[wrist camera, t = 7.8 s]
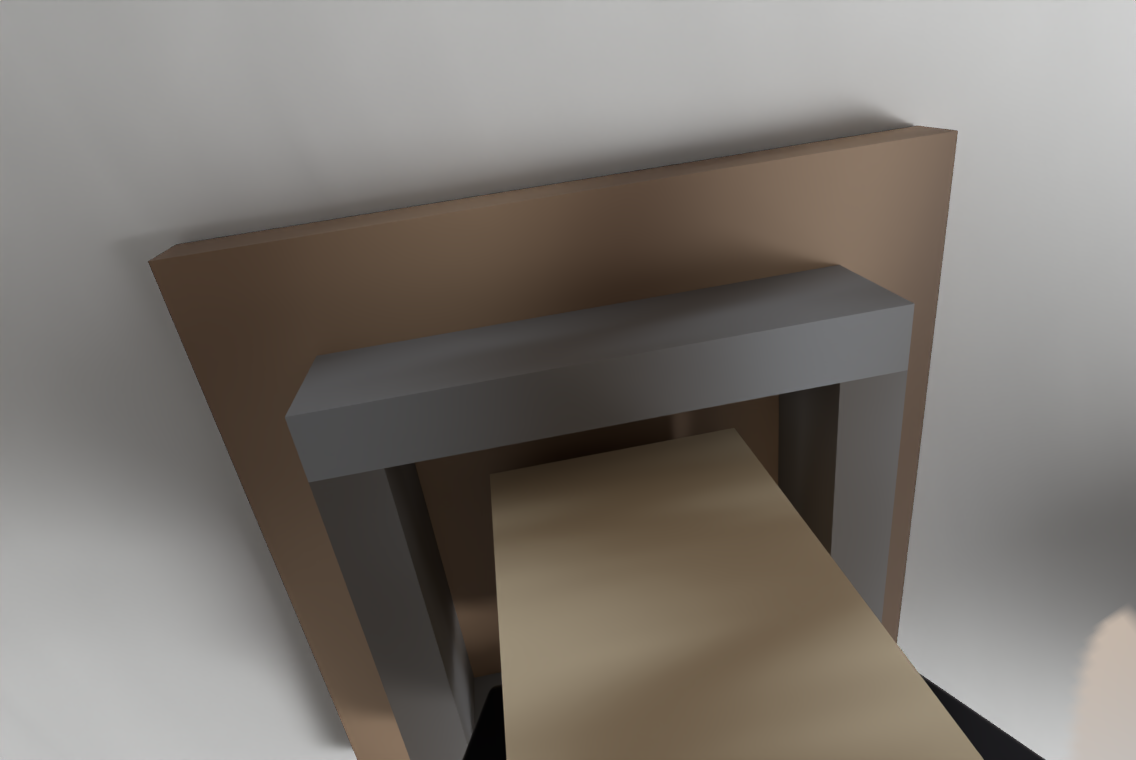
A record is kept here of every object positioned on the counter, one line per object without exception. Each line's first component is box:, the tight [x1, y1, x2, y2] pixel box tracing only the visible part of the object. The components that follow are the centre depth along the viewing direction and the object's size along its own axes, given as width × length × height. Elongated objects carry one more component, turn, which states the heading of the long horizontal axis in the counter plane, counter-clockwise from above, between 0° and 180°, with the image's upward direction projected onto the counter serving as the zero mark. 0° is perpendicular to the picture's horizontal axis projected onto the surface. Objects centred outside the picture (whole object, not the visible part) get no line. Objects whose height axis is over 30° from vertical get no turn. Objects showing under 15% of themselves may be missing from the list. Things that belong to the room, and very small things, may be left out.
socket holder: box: [148, 126, 958, 760], centre depth 12 cm, size 12×12×3 cm
